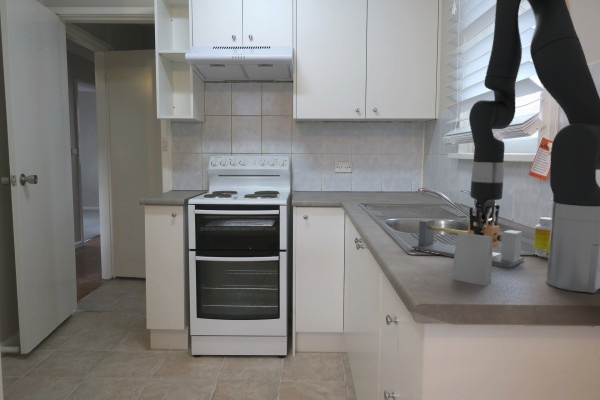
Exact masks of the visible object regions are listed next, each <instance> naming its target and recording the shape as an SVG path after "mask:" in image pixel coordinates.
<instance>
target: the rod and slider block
mask: <svg viewBox="0 0 600 400" xmlns="http://www.w3.org/2000/svg"><path fill="white" fill-rule="evenodd" d="M435 223H436V222H435V219H432V218H431V219H430V218H426V219H422V220H419V223H418V224H419V225H418V226H419V227H418V241H417V242H418V244H415V245H412V246H411V249H412V248H414V249H418V250H423V251H429V252H434V253H439V254H442V255H441V256H443V255H444V257H448V258H453V259H454V255H455V248H456V245H455V244H454V245H453V244H448V243H441V242H436V241H434V240H435V239H434V235H435V234H434V233H435V231H437V232H444V233H451V234H456V235H458V233H466V234H468V230H463V229H462V230H460V229H452V228H447V227H440V226H435ZM522 236H523V231H521V230H512V229H508V230H504V231H503V232H502V234H499V235H498V236H497V235H494V239H497V241H499V242H502V244H501V252H493V251H492V254H493V255H492V266H496V267H502V268H506V269H510V268H512V267H515V266H517V265H519V264H520V263H522V262H524V259H525V256H524V257H523V256H521V252H522V251H521V250H522V238H523V237H522Z"/></svg>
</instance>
